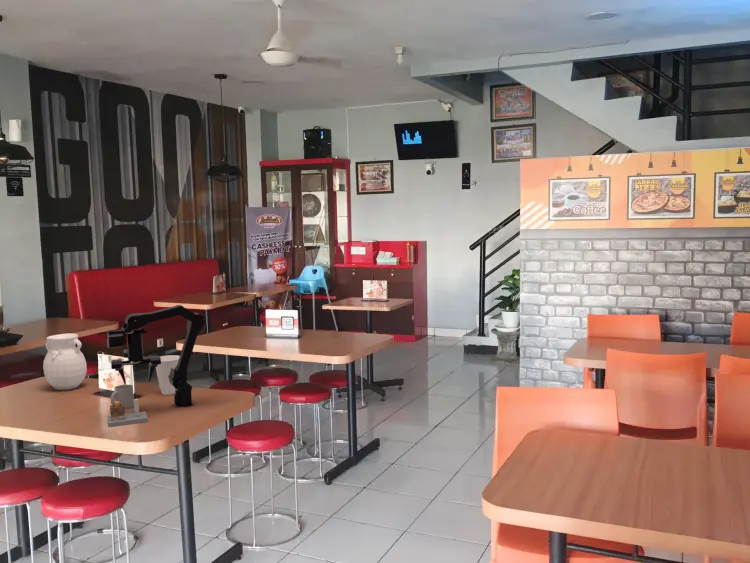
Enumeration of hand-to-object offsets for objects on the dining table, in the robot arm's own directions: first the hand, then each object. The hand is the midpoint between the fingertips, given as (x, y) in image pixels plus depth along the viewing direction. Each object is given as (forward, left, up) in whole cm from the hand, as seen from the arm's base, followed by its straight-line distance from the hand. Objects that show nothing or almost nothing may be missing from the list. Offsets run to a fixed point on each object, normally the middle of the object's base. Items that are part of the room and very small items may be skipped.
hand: (137, 383), depth 265 cm
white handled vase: (+28, -60, -12) cm, 67 cm away
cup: (+6, -9, -12) cm, 16 cm away
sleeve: (+8, +11, -10) cm, 17 cm away
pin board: (+5, +11, -12) cm, 17 cm away
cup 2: (-15, -26, -12) cm, 32 cm away
